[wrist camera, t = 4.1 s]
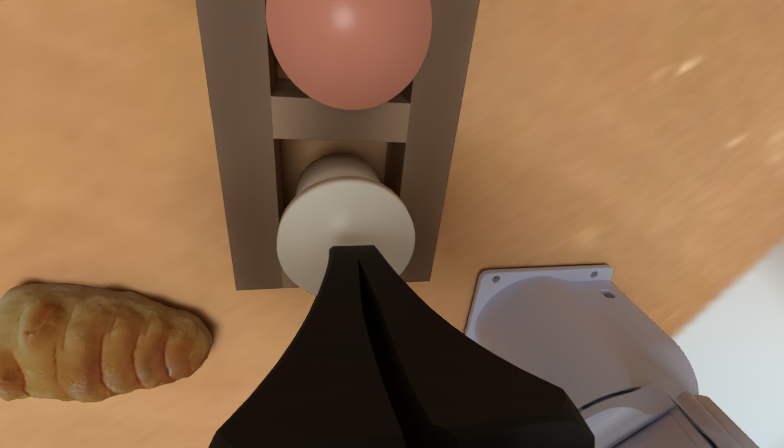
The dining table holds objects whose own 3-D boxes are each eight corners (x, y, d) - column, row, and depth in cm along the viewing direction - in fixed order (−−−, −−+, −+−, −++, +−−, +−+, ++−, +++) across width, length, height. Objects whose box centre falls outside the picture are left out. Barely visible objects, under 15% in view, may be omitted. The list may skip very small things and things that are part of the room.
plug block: (504, -402, 11) (577, -549, 8) (413, 242, 22) (429, 281, 19) (157, -525, 9) (86, -776, 6) (246, 246, 20) (236, 290, 17)
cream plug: (398, 143, 16) (423, 184, 12) (388, 239, 18) (407, 296, 14) (280, 139, 15) (272, 183, 11) (285, 241, 17) (280, 303, 13)
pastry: (217, 285, 21) (201, 338, 18) (214, 368, 24) (199, 425, 21) (7, 271, 18) (-56, 330, 15) (34, 366, 22) (-14, 431, 18)
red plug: (409, -49, 13) (443, -64, 10) (396, 87, 16) (420, 113, 12) (271, -68, 12) (259, -92, 9) (279, 80, 15) (271, 106, 11)
